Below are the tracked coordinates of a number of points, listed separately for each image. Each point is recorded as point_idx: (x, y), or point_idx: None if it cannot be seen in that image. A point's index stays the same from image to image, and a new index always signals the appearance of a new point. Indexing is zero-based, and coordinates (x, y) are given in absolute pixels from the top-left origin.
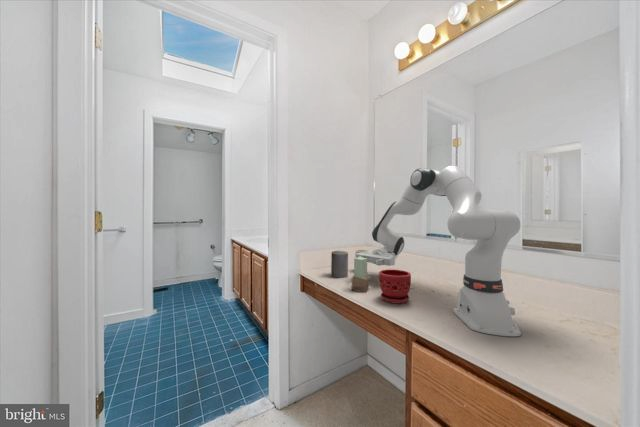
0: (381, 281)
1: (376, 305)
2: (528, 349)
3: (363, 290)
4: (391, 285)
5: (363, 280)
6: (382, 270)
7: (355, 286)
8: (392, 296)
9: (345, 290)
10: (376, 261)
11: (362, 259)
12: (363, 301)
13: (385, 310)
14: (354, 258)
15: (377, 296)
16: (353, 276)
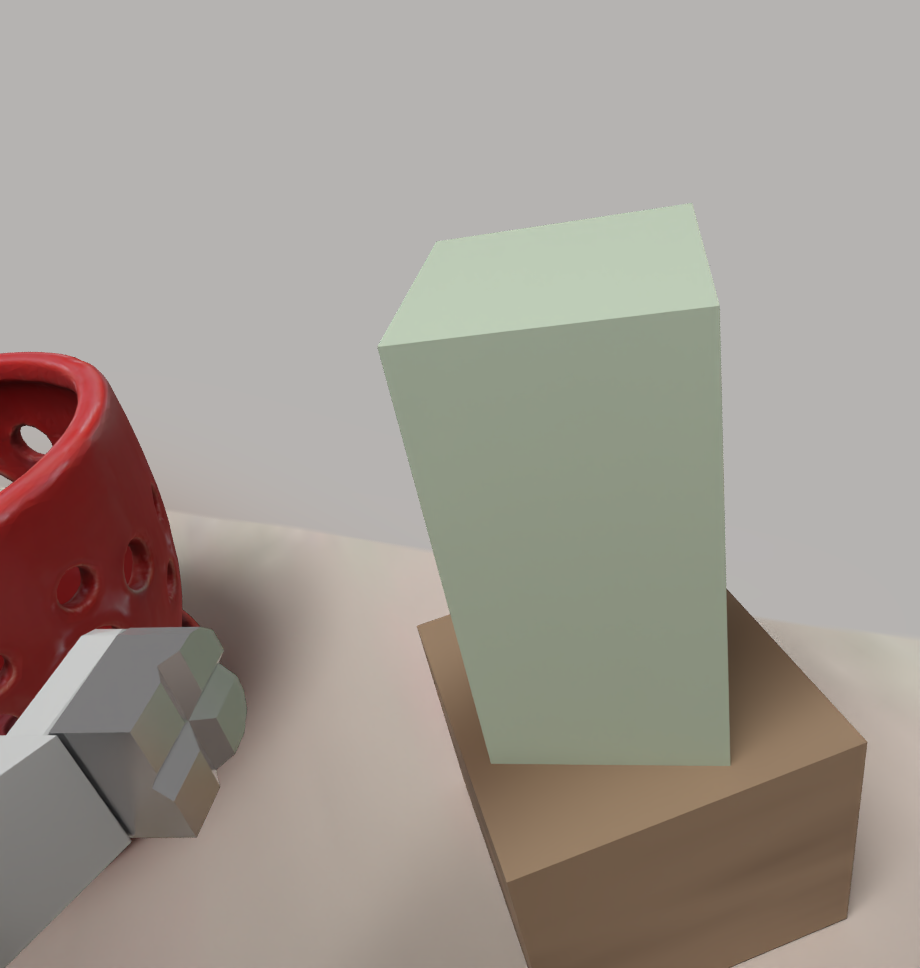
0: (139, 573)
1: (254, 549)
2: None
3: None
4: (18, 460)
5: None
6: (40, 461)
7: None
8: (65, 589)
9: None
10: (107, 634)
11: (441, 249)
12: (390, 545)
13: (173, 526)
14: (683, 206)
15: (279, 728)
16: (740, 611)
